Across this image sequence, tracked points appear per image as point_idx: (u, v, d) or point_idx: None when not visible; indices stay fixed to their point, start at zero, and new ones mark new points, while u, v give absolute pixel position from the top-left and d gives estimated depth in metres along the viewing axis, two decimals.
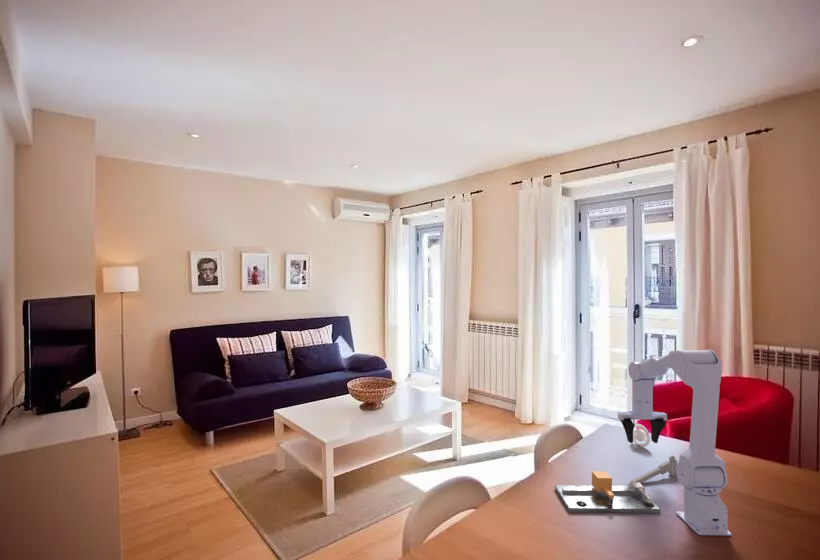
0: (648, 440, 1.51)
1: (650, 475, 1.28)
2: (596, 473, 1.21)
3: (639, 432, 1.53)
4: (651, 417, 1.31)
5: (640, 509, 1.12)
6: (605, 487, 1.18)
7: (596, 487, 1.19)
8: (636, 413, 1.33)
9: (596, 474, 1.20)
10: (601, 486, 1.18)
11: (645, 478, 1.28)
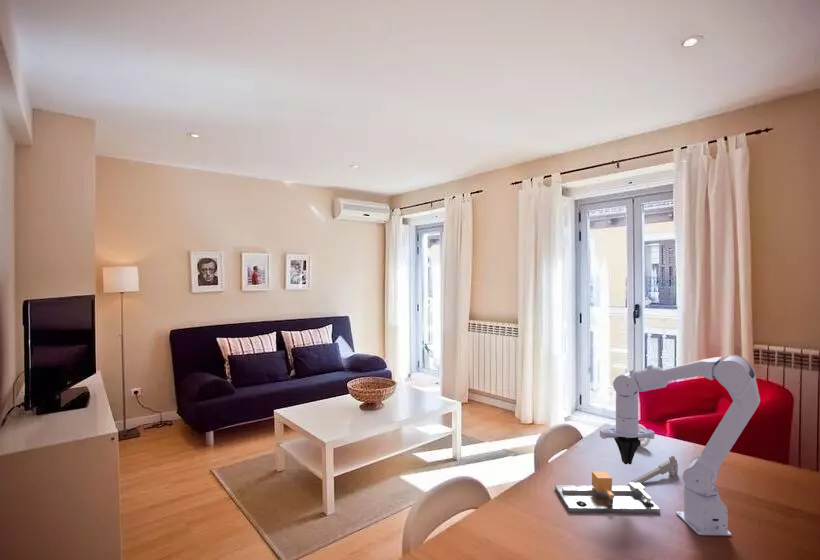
0: (648, 440, 1.51)
1: (650, 475, 1.28)
2: (596, 473, 1.21)
3: None
4: (636, 435, 1.17)
5: (640, 509, 1.12)
6: (605, 487, 1.18)
7: (596, 487, 1.19)
8: (620, 431, 1.18)
9: (596, 474, 1.20)
10: (601, 486, 1.18)
11: (645, 478, 1.28)
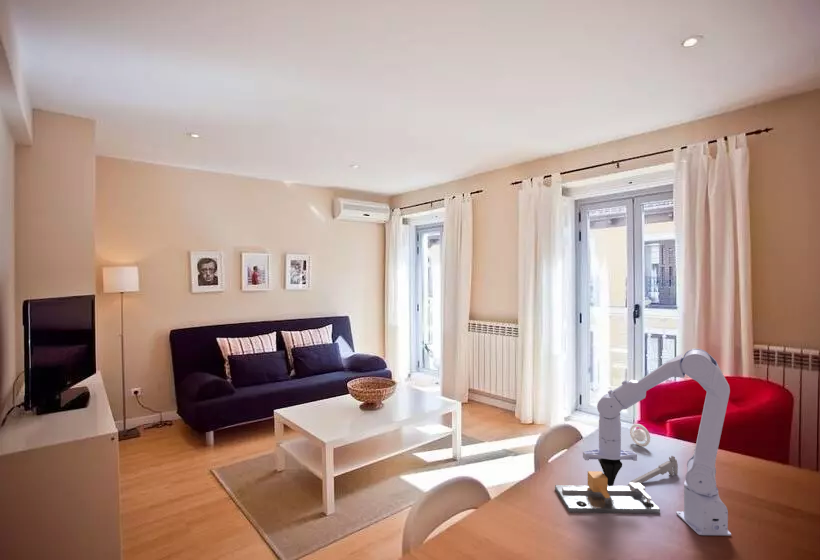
0: (648, 440, 1.51)
1: (650, 475, 1.28)
2: (592, 473, 1.21)
3: (639, 432, 1.53)
4: (619, 458, 1.17)
5: (640, 509, 1.12)
6: (601, 487, 1.18)
7: (592, 487, 1.19)
8: (602, 453, 1.19)
9: (592, 474, 1.20)
10: (597, 486, 1.18)
11: (645, 478, 1.28)
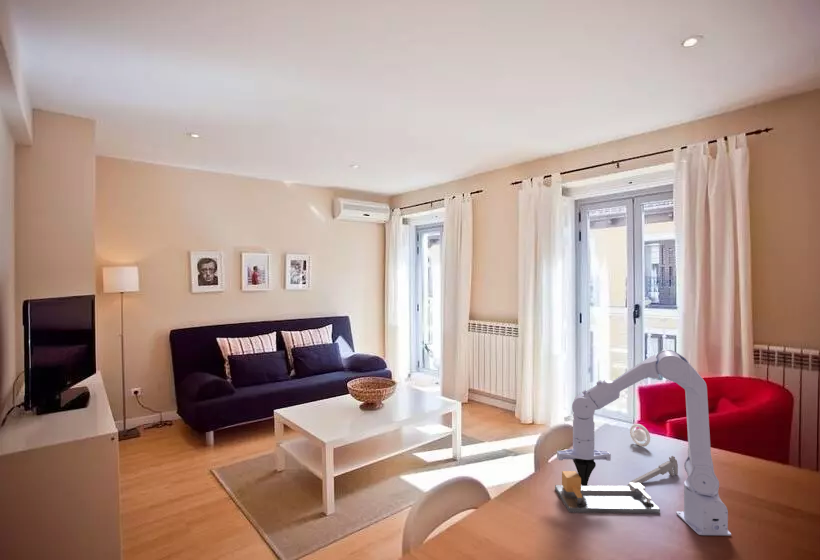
0: (648, 440, 1.51)
1: (650, 475, 1.28)
2: (566, 472, 1.21)
3: (639, 432, 1.53)
4: (592, 458, 1.17)
5: (640, 509, 1.12)
6: (574, 487, 1.18)
7: (565, 487, 1.19)
8: (576, 453, 1.19)
9: (566, 474, 1.20)
10: (570, 486, 1.18)
11: (645, 478, 1.28)
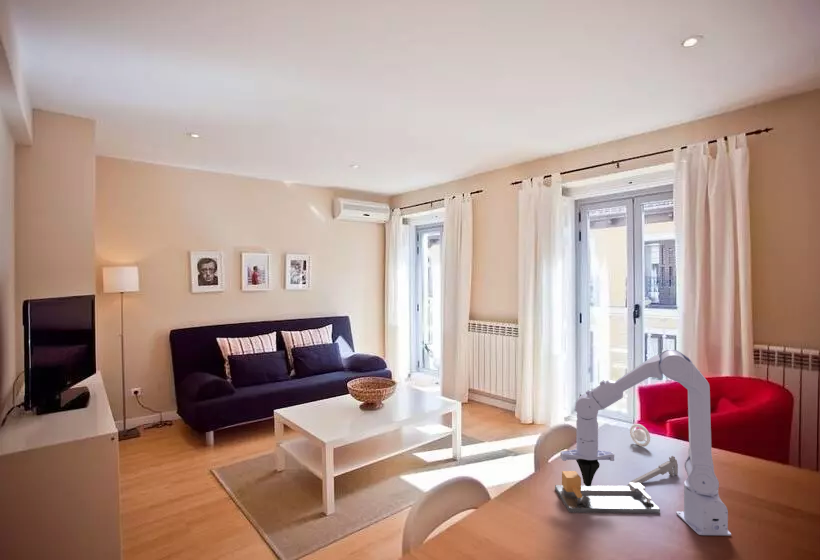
0: (648, 440, 1.51)
1: (650, 475, 1.28)
2: (566, 472, 1.21)
3: (639, 432, 1.53)
4: (596, 458, 1.17)
5: (640, 509, 1.12)
6: (574, 487, 1.18)
7: (565, 487, 1.19)
8: (580, 453, 1.19)
9: (566, 474, 1.20)
10: (570, 486, 1.18)
11: (645, 478, 1.28)
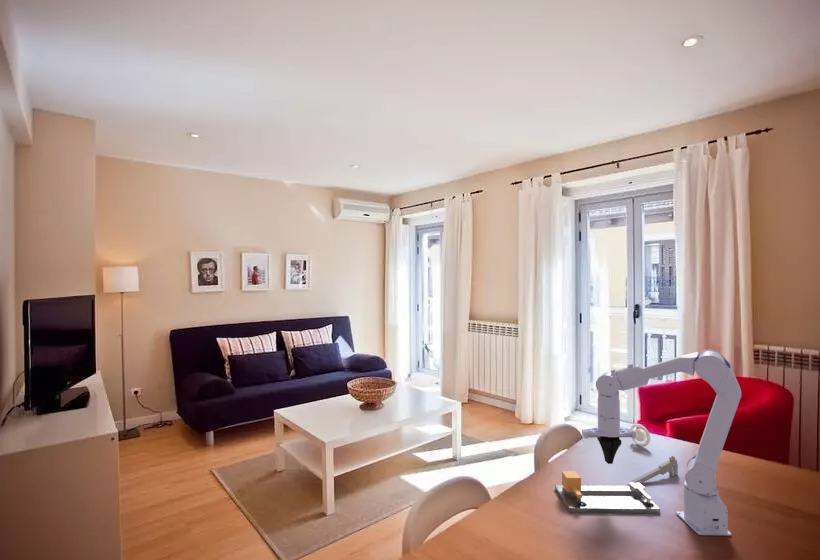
0: (648, 440, 1.51)
1: (650, 475, 1.28)
2: (566, 472, 1.21)
3: (639, 432, 1.53)
4: (618, 435, 1.18)
5: (640, 509, 1.12)
6: (574, 487, 1.18)
7: (565, 487, 1.19)
8: (602, 430, 1.19)
9: (566, 474, 1.20)
10: (570, 486, 1.18)
11: (645, 478, 1.28)
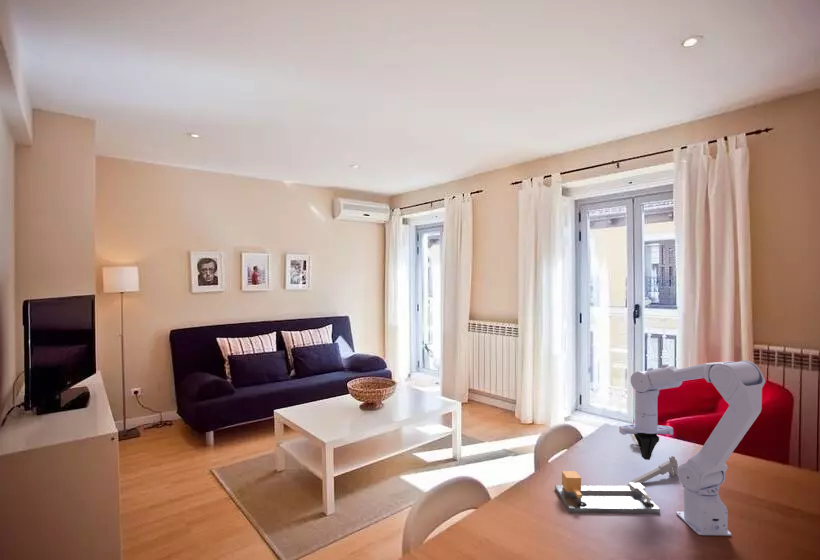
0: None
1: (650, 475, 1.28)
2: (566, 472, 1.21)
3: None
4: (656, 431, 1.20)
5: (640, 509, 1.12)
6: (574, 487, 1.18)
7: (565, 487, 1.19)
8: (639, 427, 1.21)
9: (566, 474, 1.20)
10: (570, 486, 1.18)
11: (645, 478, 1.28)
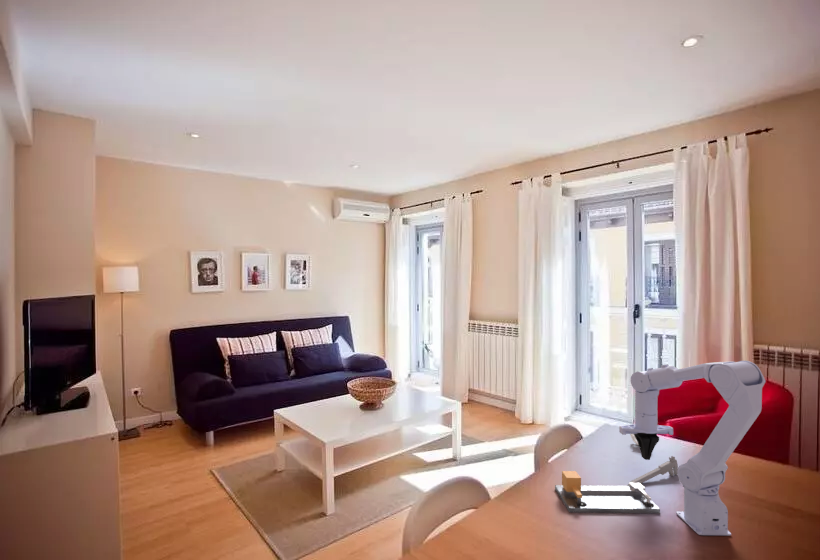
0: None
1: (650, 475, 1.28)
2: (566, 472, 1.21)
3: None
4: (656, 431, 1.20)
5: (640, 509, 1.12)
6: (574, 487, 1.18)
7: (565, 487, 1.19)
8: (639, 427, 1.21)
9: (566, 474, 1.20)
10: (570, 486, 1.18)
11: (645, 478, 1.28)
